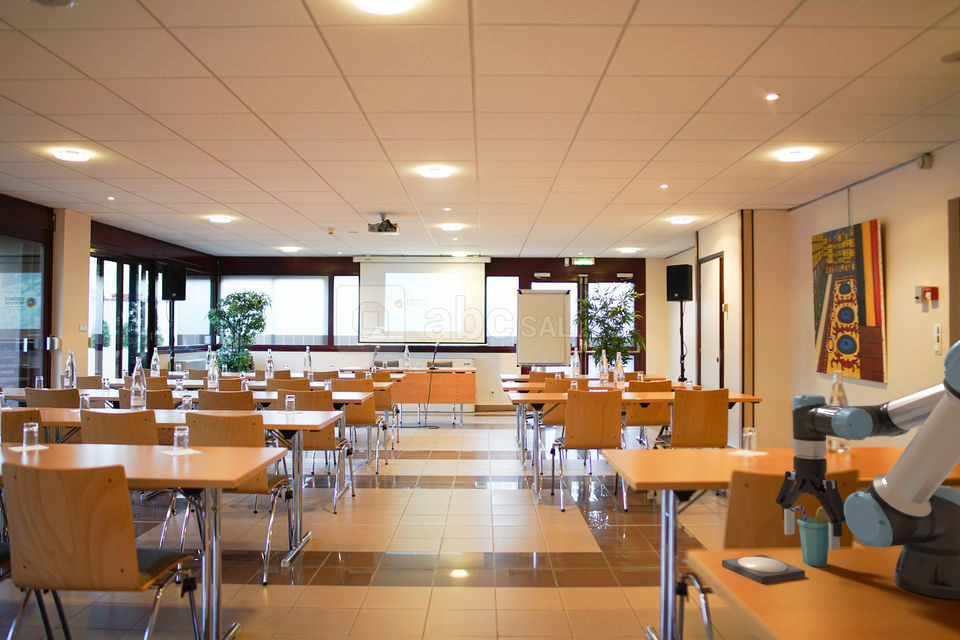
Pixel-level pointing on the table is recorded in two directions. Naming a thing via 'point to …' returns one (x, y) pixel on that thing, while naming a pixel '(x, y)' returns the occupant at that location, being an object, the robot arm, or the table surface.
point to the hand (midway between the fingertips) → (811, 541)
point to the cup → (814, 537)
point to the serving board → (763, 568)
